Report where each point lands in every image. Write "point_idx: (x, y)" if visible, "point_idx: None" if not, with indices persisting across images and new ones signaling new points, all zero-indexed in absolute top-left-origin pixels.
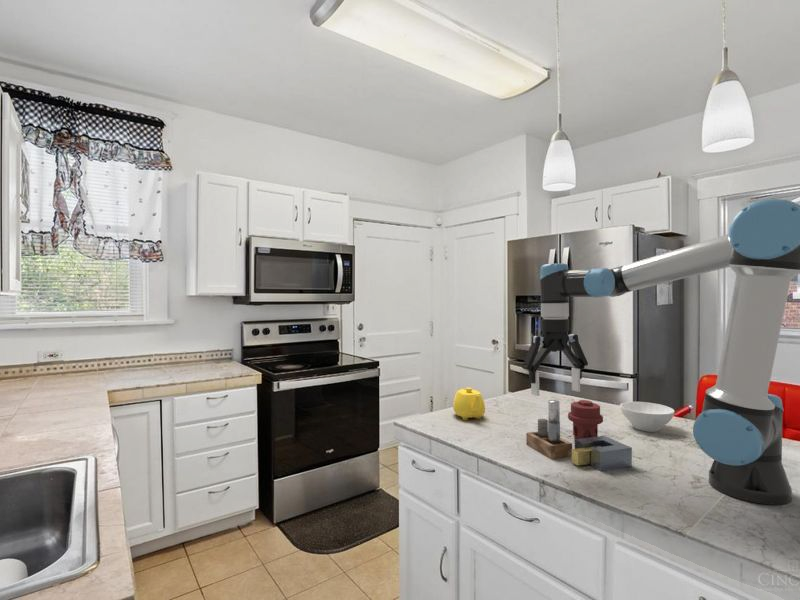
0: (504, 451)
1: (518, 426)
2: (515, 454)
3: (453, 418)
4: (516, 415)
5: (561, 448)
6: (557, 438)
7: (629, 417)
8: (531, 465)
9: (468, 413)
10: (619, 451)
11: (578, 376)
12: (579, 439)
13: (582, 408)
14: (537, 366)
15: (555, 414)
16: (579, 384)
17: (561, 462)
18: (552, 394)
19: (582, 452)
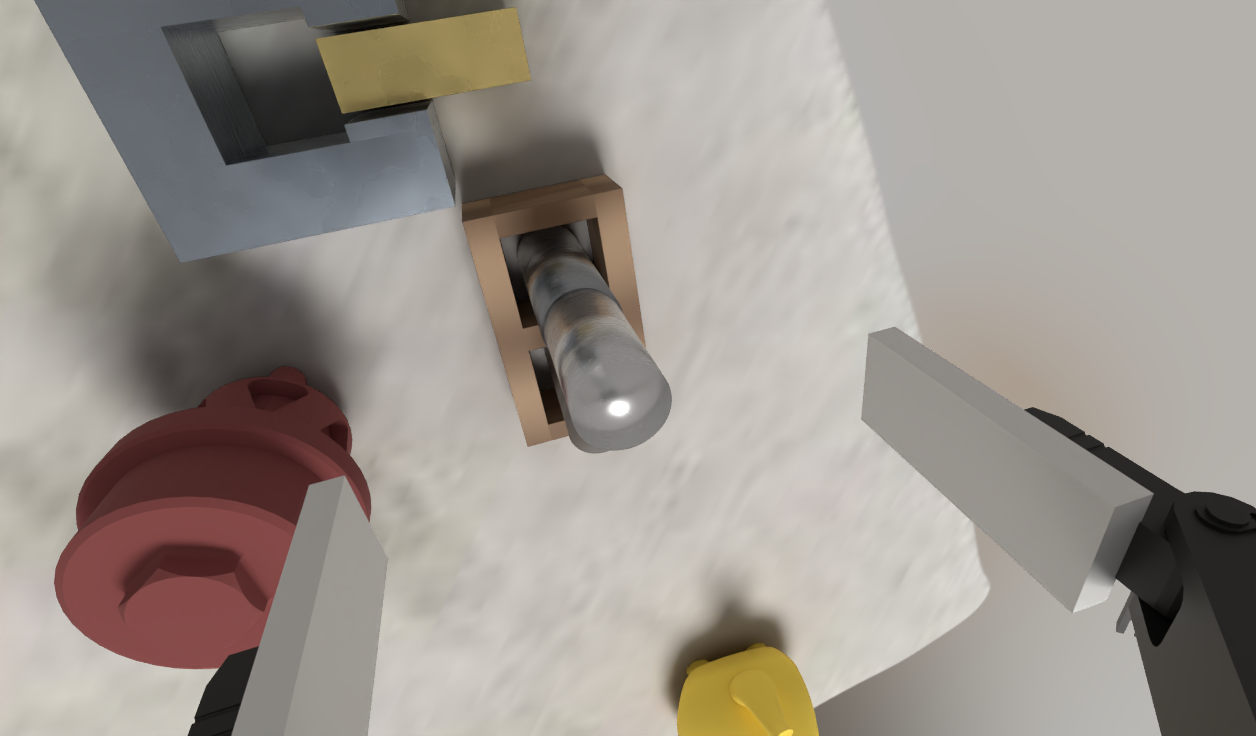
0: (781, 298)
1: (569, 596)
2: (752, 255)
3: (793, 653)
4: (518, 718)
5: (543, 198)
6: (558, 252)
7: None
8: (749, 96)
9: (770, 660)
10: None
11: (288, 656)
12: (419, 201)
13: (264, 509)
14: (1240, 586)
15: (605, 315)
16: (300, 552)
17: (569, 113)
18: None
19: (474, 15)
